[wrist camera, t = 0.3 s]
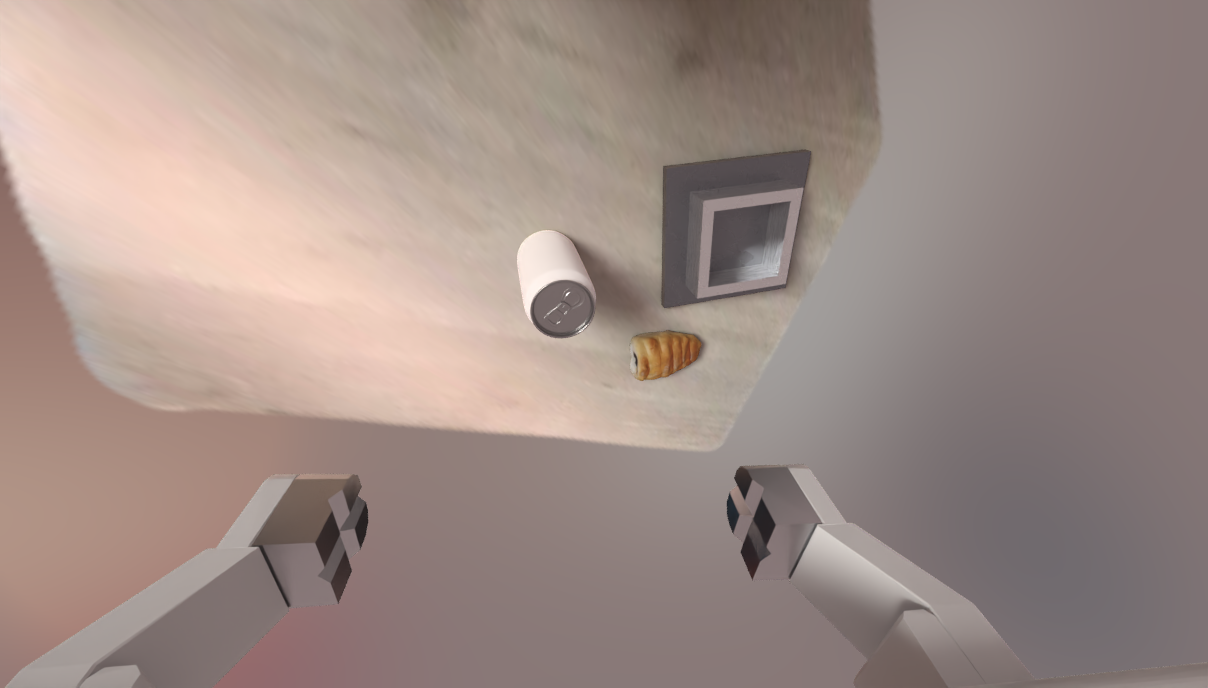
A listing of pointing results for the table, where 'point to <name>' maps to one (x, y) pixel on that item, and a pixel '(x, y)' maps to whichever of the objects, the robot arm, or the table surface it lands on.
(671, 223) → the collar
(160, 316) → the table surface
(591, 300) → the can
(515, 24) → the table surface
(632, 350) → the pastry
